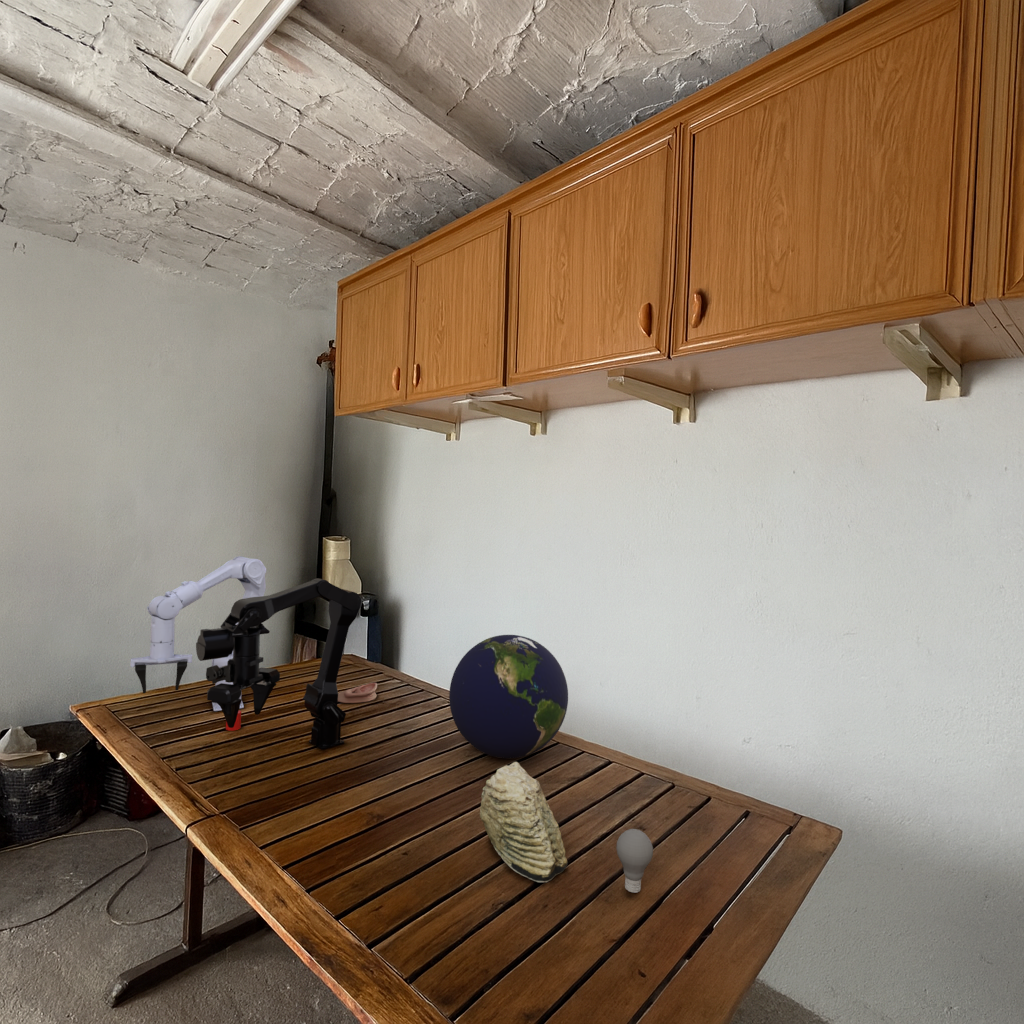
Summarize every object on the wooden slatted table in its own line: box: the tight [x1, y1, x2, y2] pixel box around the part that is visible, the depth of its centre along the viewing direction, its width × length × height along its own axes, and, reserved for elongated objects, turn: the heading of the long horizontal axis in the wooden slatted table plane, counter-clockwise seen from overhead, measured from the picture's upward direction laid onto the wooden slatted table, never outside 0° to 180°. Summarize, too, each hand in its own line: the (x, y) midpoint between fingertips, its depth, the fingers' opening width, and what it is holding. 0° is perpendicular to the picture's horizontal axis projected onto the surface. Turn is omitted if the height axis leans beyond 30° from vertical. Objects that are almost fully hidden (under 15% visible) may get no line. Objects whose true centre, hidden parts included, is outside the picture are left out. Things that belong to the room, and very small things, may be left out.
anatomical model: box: [338, 682, 378, 704], centre depth 199 cm, size 13×4×12 cm
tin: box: [225, 709, 242, 732], centre depth 170 cm, size 4×4×4 cm
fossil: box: [479, 761, 569, 883], centre depth 114 cm, size 9×18×15 cm, turn 46°
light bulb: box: [615, 828, 654, 894], centre depth 106 cm, size 6×6×10 cm
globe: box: [448, 634, 569, 760], centre depth 160 cm, size 30×30×30 cm
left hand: (160, 690), depth 172 cm, fingers open, 7 cm apart
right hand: (244, 720), depth 147 cm, fingers open, 9 cm apart
